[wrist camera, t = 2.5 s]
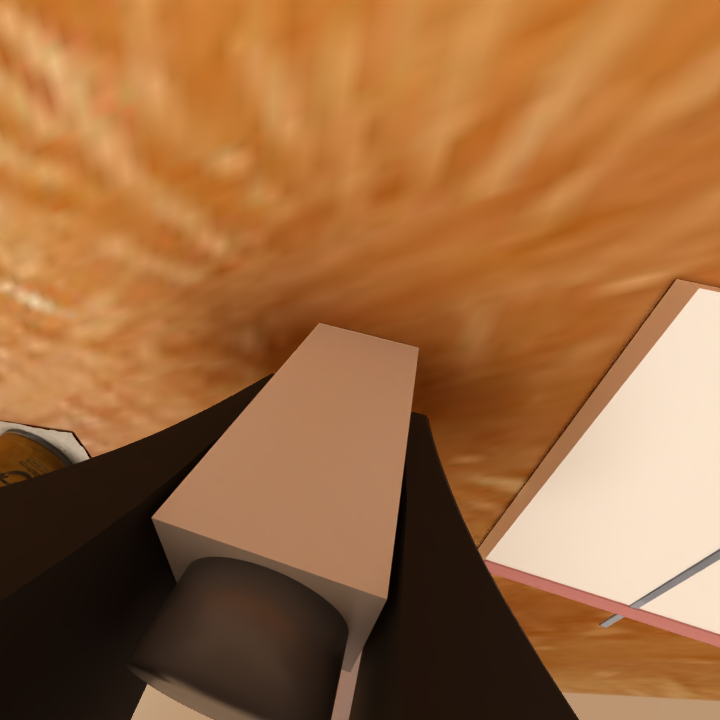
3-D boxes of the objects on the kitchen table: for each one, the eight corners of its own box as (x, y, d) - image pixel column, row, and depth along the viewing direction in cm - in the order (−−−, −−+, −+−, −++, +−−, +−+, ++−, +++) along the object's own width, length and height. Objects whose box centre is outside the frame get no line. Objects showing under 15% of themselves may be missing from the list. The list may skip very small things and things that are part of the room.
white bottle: (396, 423, 12) (331, 772, 5) (312, 399, 13) (140, 691, 5) (419, 347, 10) (369, 736, 3) (319, 322, 11) (67, 615, 3)
